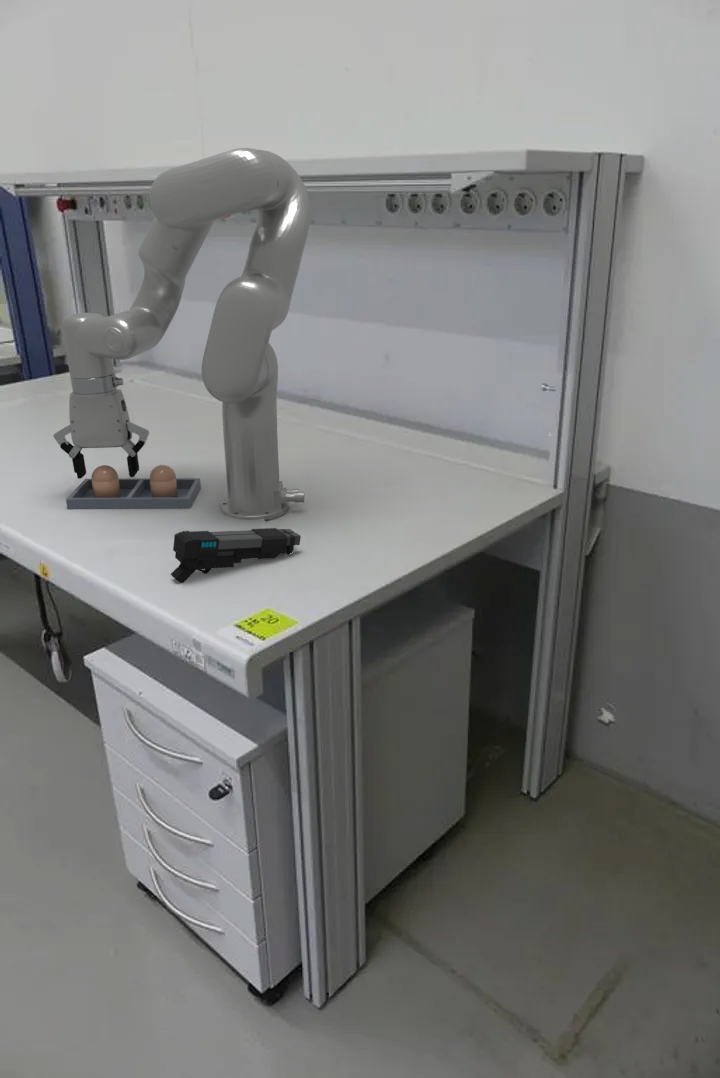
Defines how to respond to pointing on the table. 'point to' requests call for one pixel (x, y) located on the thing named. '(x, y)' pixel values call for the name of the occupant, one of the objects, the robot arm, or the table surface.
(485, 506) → the table surface
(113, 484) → the egg
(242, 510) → the robot arm
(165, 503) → the divided grey tray
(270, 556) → the gun
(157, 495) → the seated egg
